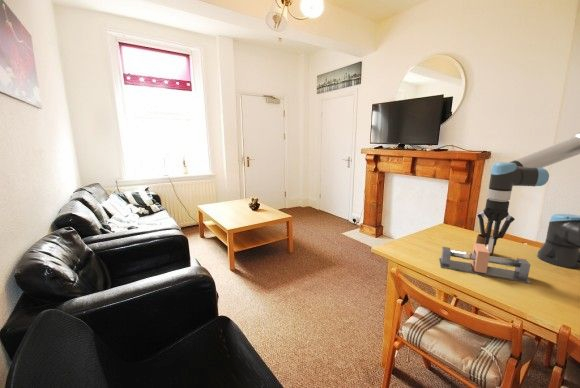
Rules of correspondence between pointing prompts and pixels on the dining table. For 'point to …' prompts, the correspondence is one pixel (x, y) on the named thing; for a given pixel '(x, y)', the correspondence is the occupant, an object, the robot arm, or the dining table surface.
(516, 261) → the pipe rig
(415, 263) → the dining table surface
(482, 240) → the mug
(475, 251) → the collar
